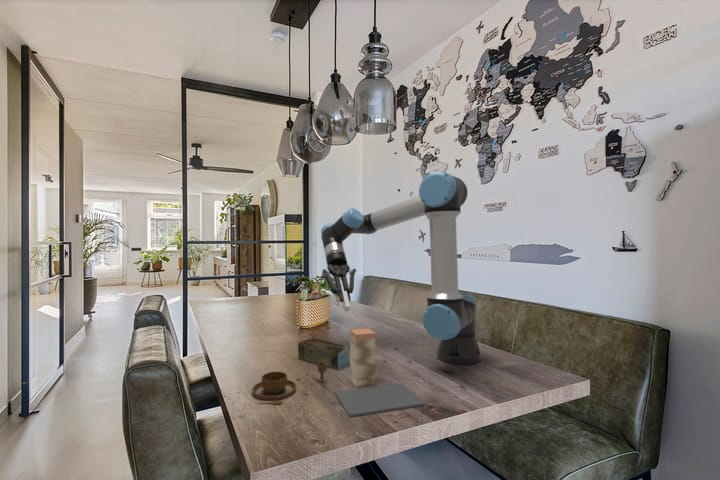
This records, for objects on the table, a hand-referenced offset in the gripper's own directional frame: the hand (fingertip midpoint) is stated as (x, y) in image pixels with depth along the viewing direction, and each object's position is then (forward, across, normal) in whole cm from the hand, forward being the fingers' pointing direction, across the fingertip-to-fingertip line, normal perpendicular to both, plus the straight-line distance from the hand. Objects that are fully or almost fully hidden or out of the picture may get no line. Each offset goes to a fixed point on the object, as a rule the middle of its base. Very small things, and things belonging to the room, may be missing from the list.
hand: (347, 308), depth 123 cm
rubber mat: (+33, -1, +6) cm, 34 cm away
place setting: (+25, +21, -3) cm, 33 cm away
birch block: (+24, -1, -3) cm, 24 cm away
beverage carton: (+10, +6, -18) cm, 21 cm away
